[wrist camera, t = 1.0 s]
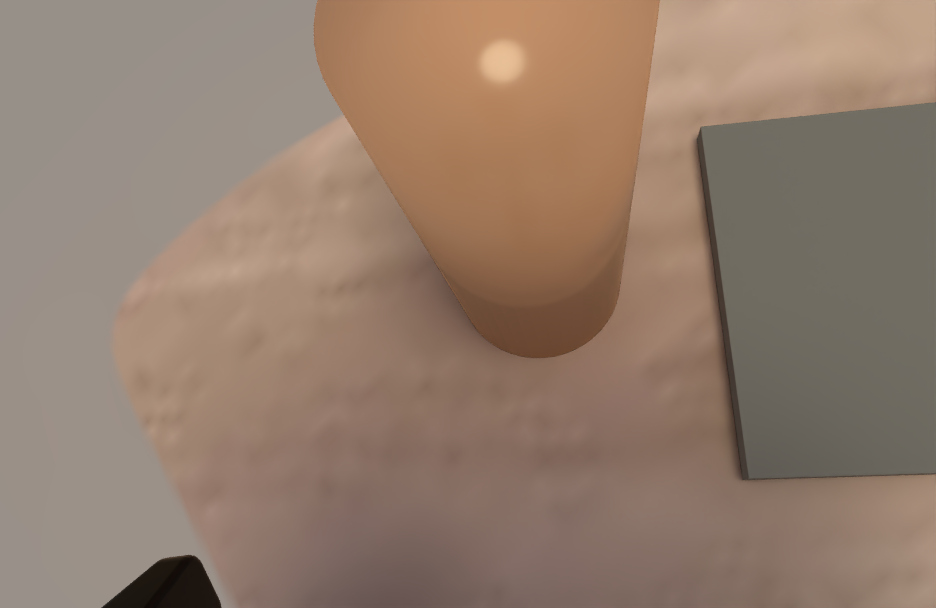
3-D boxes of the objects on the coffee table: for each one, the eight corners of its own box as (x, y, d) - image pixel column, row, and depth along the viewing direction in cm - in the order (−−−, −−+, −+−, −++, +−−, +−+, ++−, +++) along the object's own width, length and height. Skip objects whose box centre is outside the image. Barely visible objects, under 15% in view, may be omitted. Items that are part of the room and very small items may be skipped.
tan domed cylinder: (627, 353, 21) (679, 139, 9) (462, 362, 22) (305, 176, 10) (613, 199, 23) (641, -160, 11) (458, 213, 24) (320, -107, 11)
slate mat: (1180, 467, 18) (1206, 464, 17) (742, 479, 20) (749, 478, 19) (1065, 102, 21) (1083, 87, 21) (697, 139, 23) (700, 126, 22)
